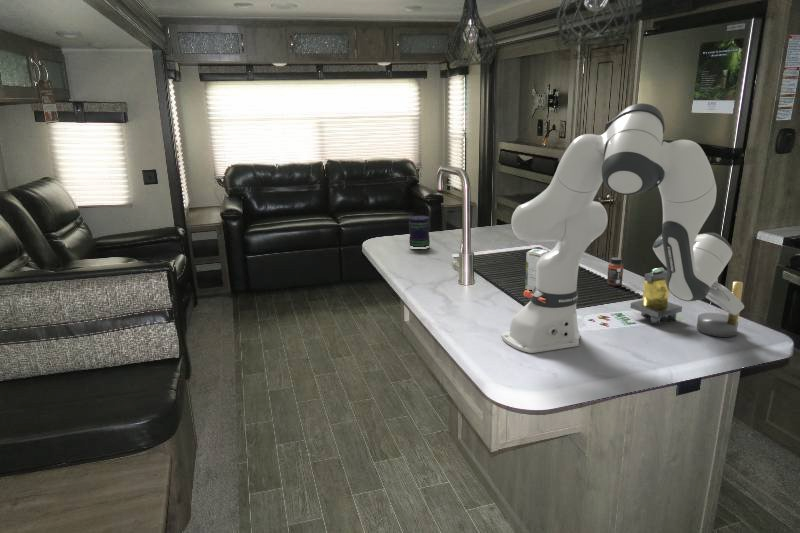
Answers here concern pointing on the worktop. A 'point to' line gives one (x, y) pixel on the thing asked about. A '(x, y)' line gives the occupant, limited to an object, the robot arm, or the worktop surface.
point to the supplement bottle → (615, 272)
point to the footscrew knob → (721, 318)
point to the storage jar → (419, 231)
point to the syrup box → (532, 267)
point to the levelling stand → (656, 298)
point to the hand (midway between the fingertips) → (730, 310)
